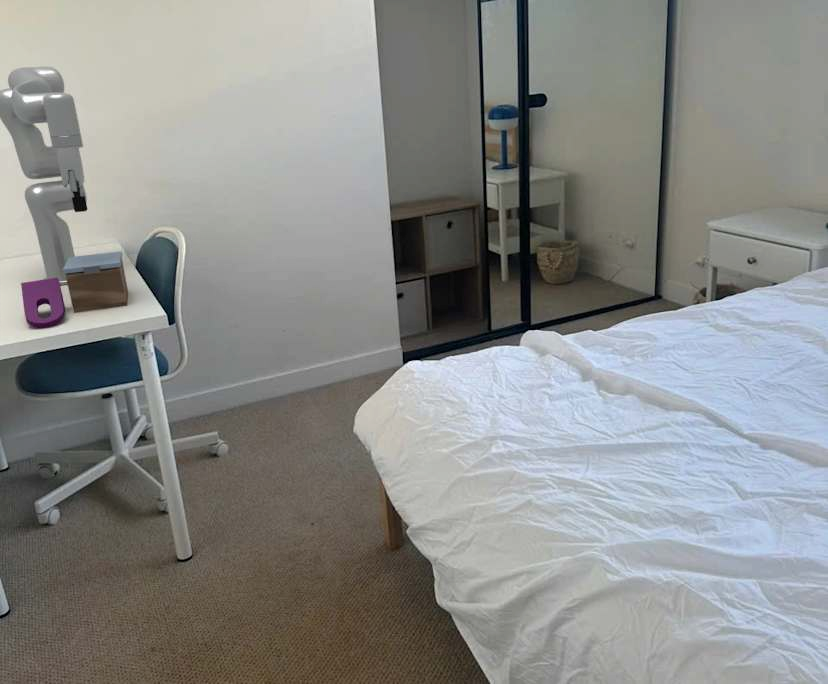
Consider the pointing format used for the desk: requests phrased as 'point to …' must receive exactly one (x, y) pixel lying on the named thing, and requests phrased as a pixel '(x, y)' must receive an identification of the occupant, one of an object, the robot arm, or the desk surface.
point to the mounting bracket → (43, 302)
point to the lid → (93, 262)
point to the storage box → (98, 289)
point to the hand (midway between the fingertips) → (81, 211)
